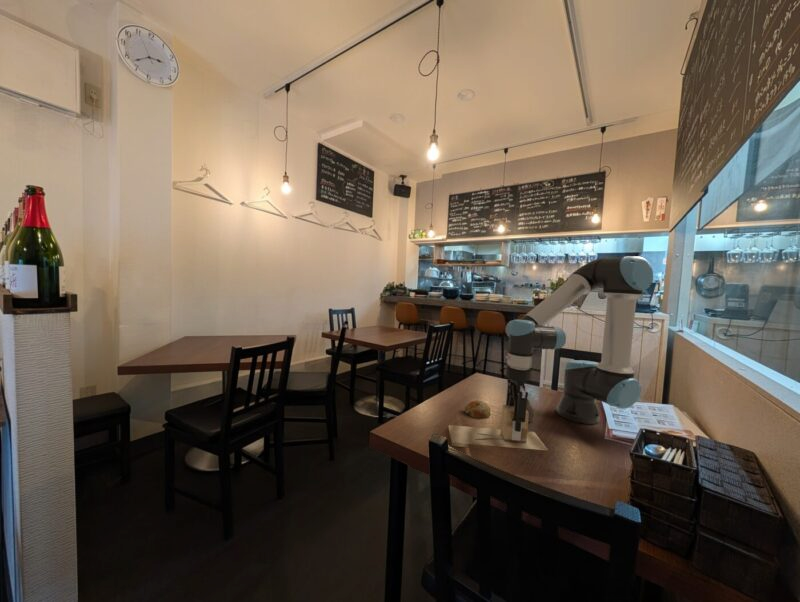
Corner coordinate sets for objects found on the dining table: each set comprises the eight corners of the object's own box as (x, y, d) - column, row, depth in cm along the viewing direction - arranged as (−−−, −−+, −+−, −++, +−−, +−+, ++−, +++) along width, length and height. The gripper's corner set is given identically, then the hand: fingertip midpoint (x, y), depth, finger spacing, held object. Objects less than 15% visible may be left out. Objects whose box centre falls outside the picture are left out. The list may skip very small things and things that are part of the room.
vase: (511, 421, 119) (513, 399, 118) (518, 416, 124) (520, 395, 123) (529, 428, 114) (531, 404, 114) (536, 422, 119) (538, 400, 119)
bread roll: (485, 432, 117) (496, 415, 116) (461, 417, 118) (472, 400, 117) (484, 421, 127) (494, 405, 125) (461, 407, 128) (471, 391, 127)
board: (534, 435, 109) (534, 432, 109) (548, 454, 97) (548, 450, 97) (448, 428, 110) (448, 425, 110) (452, 445, 98) (452, 442, 98)
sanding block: (521, 435, 105) (523, 406, 105) (526, 442, 100) (528, 412, 100) (500, 433, 106) (502, 405, 105) (504, 440, 101) (506, 411, 100)
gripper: (499, 359, 111) (494, 422, 112) (515, 374, 93) (509, 448, 94) (521, 360, 110) (515, 424, 112) (541, 375, 92) (534, 451, 94)
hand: (513, 435), depth 103 cm, fingers closed on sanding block, 5 cm apart
